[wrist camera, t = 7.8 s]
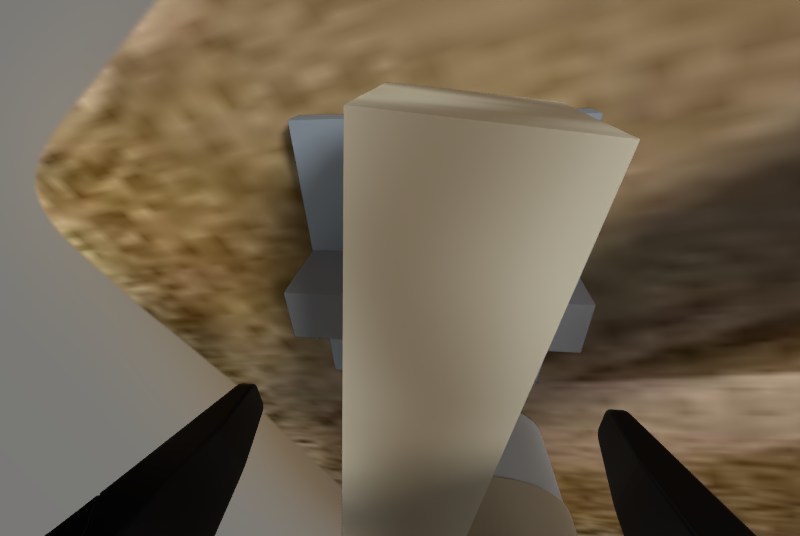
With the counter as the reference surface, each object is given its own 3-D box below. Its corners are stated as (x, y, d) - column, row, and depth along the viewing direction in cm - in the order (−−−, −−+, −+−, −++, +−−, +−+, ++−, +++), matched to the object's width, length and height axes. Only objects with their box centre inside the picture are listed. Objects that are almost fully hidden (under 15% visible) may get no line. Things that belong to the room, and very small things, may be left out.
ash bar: (560, 101, 8) (640, 139, 5) (454, 449, 16) (455, 560, 12) (387, 81, 8) (343, 104, 5) (364, 434, 16) (341, 539, 12)
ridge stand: (591, 108, 12) (650, 132, 8) (533, 367, 18) (552, 441, 14) (298, 115, 13) (244, 139, 9) (340, 355, 19) (316, 421, 16)
